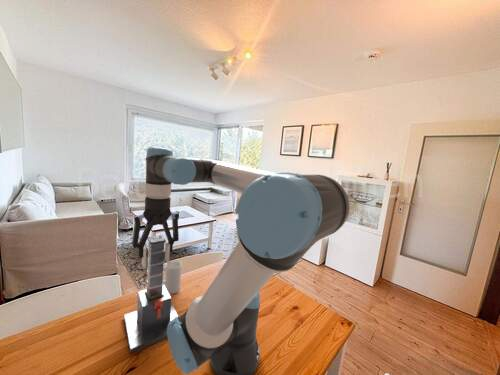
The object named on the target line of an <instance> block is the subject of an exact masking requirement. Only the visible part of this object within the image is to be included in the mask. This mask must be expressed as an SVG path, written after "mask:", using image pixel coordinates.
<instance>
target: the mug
mask: <svg viewBox="0 0 500 375" xmlns="http://www.w3.org/2000/svg"><path fill="white" fill-rule="evenodd" d="M164 265H165V266H163V272H165V273H164V274H165V277H164V279H163V284H164V285H165V287H166V289H167V291H168V292H169V294H170V295H172V294H173V295H174V294H177V293H178V292H180V290H181V283H182V282H181V278H182V268H183V267H182V265H183V263H182V261H180V260H171V261H170V260H169V263H165V264H164Z"/></svg>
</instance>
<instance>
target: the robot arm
mask: <svg viewBox="0 0 500 375" xmlns="http://www.w3.org/2000/svg"><path fill="white" fill-rule="evenodd" d="M145 161H146V162H145V199H144V201H145V202H144V210H143V213H142V214H139V215H138V214H134V215H133V220H134V226H133V234H132V242H131V245H132V247H133V248H134V249H136V248H137V249H138V250H137V251H138V254H137V256H138V258H139V259H141V266H142V268H143V269H146V268H147V247H146V243H147V241H148V240H147V239H148V237H150V236H149V235H150V233H151V231H152V229H153V228H154V226H158V225H160V226H162V227H163V230H164V233H165V236H166V239H167V240H166V242H165V243H164V250H165V252H164V262H166V263H169V262H170V253H173V248H174V246H173V245H174V244H175V242H178V241H179V237H180V236H179V218H180V214H179V213H178V212H177V211H174V212H172V211H171V195H172V184H174V185H180V186H184V185H185V186H186V185H188V184H190V183H191V184H192V183H193V184H194V183H210V184H213V185H216V186H219V187H222V188H225V189H228V190H231V191H232V192H233V191H234V192H237V193H239V194H241V195H240V197H239V199H238V202H237V204H236V210H235V213H236V215H237V216H238V218H236V219H235V225H236V229H237V231H236V235H237V239H238V242H237V243H236V244H235V246H234V248H233V250H232V251H231V252H230V253H229V256H228V257H227V258H226V260H225V262H224V264H223V265H222V267H220V269H219V271H218V273H217V274H216V276H215V277H214V279H213V280H212V282H211V284H210V285H209V287H208V288H207V290H206V291H205V293H204V294H202V295H199V296H197V297H196V298H194V300H192V302H190V304H189V305H188V307H187V309H186V310H185V312H183V313H182V314H181V315H178V317H177V316H176V317H175V318H174V319H173V320H171V321H170V322H169V323H168V326H167V337H168V338H167V341H168V342H167V343H168V346H169V349H170V352H171V356H172V358H173V360H174V363H175V365H176V366H177V368H178V369H179V371H180V372H181V374H184V375H190V374H191V373H193V372H194V371H198V369H199V368H200V367H201V366H202V365H204V364H205V363H206V362H208V361H209V364H210V366H211V369H212V371H213V372H214V374H215V375H254V374H255V372H257V371H256V370H257V368H258V366H259V363H260V347H259V343H258V338H257V328H258V320H259V310H260V306H261V303H260V301H261V300H260V299H261V297H260V291H261V290H262V289H263V288H264V287H265V285H267V283H268V282H269V281H270V279H271V278H272V277H273V276H274V275H275V274H276V273H283V272H289V271H290V270H291V269H292V268H294V267H295V265H296V264H297V263H298V262H299V261H300V260H301V259H302V258H303V257H304V255H306V253H307V252H308V251H309V250H310V249H311V248H312V247H313V246H314V245H315V244H316V243H318V242H319V241H321V240H322V239H324V238H326V237H328V236H331V235H333V234H334V233H336V232H338V231H339V230H340V229H341V228H342V227H343V226H344V224H345V223H346V221H347V219H348V216H349V214H350V213H349V212H350V200H349V197H348V194H347V192H346V190H345V189H344V187H343V186H342V185H341V184H340V183H339V182H338V181H336V180H335V179H334V178H332V177H330V176H327V175H324V174H323V175H322V174H302V173H297V172H296V173H294V172H276V173H275V172H271V171H267V170H262V169H257V168H254V167H253V168H252V167H248V166H243V165H239V164H235V163H231V162H227V161H225V160H222V159H211V158H199V157H188V156H179V155H177V156H175V155H174V154H173V150H172V149H170V148H163V147H154V146H151V147H148V148H147V150H146V157H145ZM169 218H171V222H172V223H171V224H172V225H171V226H172V234H171V231H170V228H169V225H168V222H167V221H168V220H169ZM143 219H145V220H146V224H145V227H144V229H143V232H142V235H141V236H140V230H141V223H142V222H143ZM139 238H140V239H139ZM166 263H165V264H166Z"/></svg>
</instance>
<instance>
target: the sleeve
mask: <svg viewBox="0 0 500 375" xmlns="http://www.w3.org/2000/svg"><path fill="white" fill-rule="evenodd" d="M146 291H147V288H145V289H142V290H139V291H137V309H136V310H134V311H131V312H128V313H125V314H123V321H124V326H125V331H126V337H127V342H128V347H129V354H133V353H135V352H138V351H140V350H143V349H145V348H147V347H150V346H152V345H155V344H157V343H159V342H162V341H164V340H166V339H168V337H167V326H168V323H169V322H170V321H171V320H173V319H174V318H175V317H176V316H177V317H178V316H179V315H178V313H177V310H176V309H175V306H174V304H173V302H172V296H171V294H169V292H168V291H167V289H166V287H165V285H164V284H163V286H162V293H163V297H161V298H158V299H155V300H151V301H148V300H147V295H146Z"/></svg>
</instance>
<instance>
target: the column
mask: <svg viewBox="0 0 500 375" xmlns="http://www.w3.org/2000/svg"><path fill="white" fill-rule="evenodd" d="M147 241H148V247H147V258H146V262H147V270H146V273H147V276H146V289H147V291H146V295H147V300H148V301H151V300H155V299H158V298H161V297H163V293H162V286H163V280H164V274H165V273H164V270H163V267H164V265H165V242H167V240H166V238H165V237H164V236H163V235H162V234H161V235H155V236H148V238H147Z"/></svg>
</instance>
